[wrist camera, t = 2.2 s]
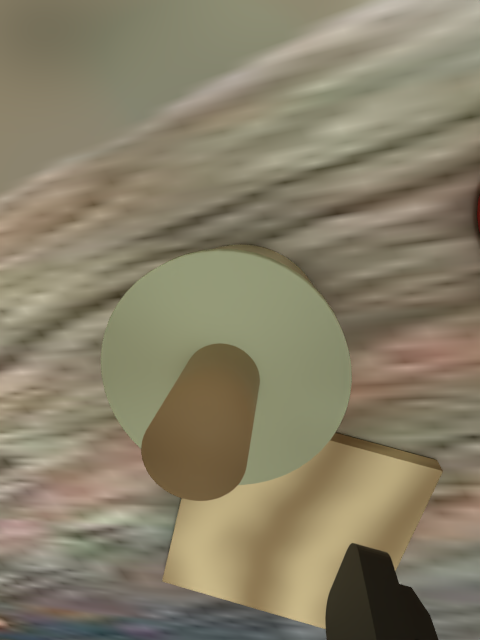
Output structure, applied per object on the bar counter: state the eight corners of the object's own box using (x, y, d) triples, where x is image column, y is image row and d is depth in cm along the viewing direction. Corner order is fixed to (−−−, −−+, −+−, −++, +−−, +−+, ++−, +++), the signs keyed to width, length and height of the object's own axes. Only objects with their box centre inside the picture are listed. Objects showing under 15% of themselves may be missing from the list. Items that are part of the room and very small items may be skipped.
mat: (436, 459, 24) (442, 471, 23) (360, 624, 28) (362, 639, 27) (206, 397, 24) (203, 405, 23) (166, 568, 29) (162, 581, 28)
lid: (383, 285, 15) (439, 339, 9) (308, 495, 18) (317, 630, 13) (128, 220, 16) (36, 234, 10) (97, 436, 19) (13, 542, 13)
